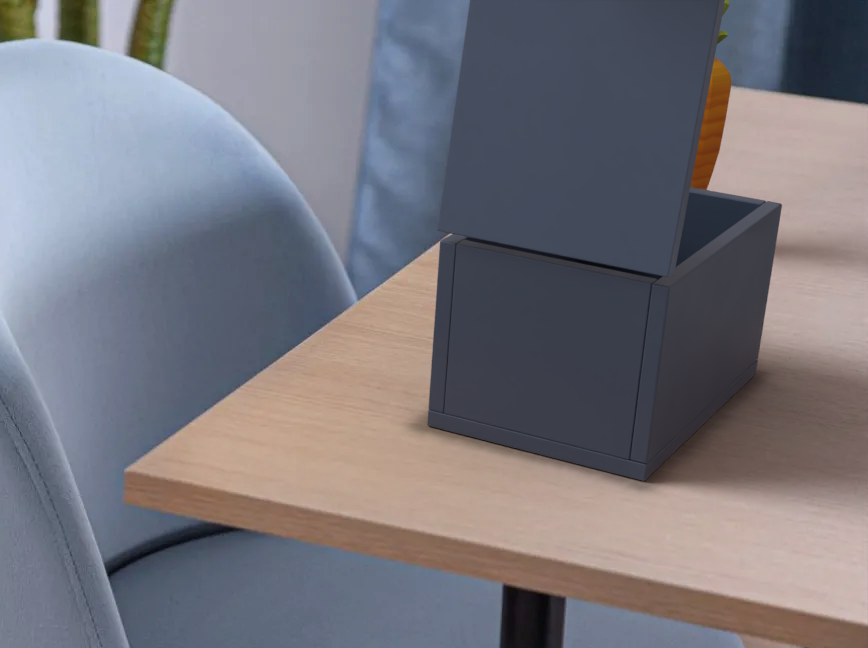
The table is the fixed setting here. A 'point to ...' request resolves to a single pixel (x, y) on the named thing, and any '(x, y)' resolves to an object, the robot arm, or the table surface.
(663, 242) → the lid
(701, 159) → the carrot
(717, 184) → the table surface
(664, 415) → the chest
